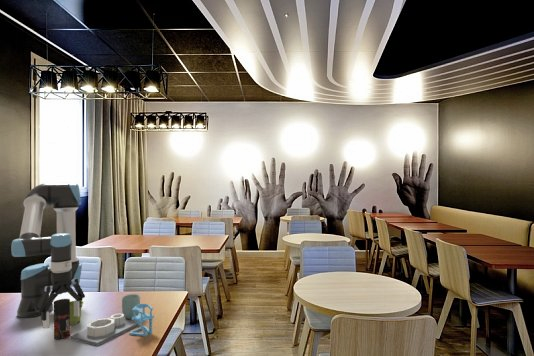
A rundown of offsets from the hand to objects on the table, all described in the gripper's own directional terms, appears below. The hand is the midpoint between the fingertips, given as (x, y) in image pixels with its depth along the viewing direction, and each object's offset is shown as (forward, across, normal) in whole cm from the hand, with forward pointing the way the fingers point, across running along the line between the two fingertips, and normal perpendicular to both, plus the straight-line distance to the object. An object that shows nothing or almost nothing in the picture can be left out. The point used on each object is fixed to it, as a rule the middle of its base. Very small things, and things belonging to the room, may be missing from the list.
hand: (61, 321), depth 148 cm
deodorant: (+7, 0, 0) cm, 7 cm away
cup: (+7, +27, -11) cm, 30 cm away
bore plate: (+6, +11, -13) cm, 18 cm away
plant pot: (+7, +12, +10) cm, 17 cm away
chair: (+7, +16, -29) cm, 34 cm away
